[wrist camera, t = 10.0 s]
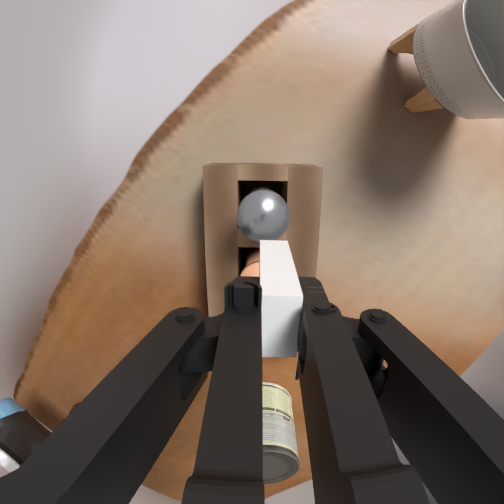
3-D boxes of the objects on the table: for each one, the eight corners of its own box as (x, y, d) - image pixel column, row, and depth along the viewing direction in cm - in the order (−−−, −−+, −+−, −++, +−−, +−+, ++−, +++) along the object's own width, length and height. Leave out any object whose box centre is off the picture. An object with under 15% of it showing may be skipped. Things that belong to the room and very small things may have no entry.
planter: (472, 77, 30) (558, 62, 13) (441, 140, 34) (534, 147, 17) (407, 17, 28) (478, -33, 11) (368, 78, 32) (444, 38, 15)
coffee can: (282, 423, 50) (287, 486, 36) (226, 415, 49) (220, 480, 36) (299, 385, 46) (310, 453, 33) (237, 376, 46) (231, 446, 32)
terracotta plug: (242, 276, 37) (239, 305, 30) (242, 241, 36) (238, 263, 29) (278, 276, 37) (283, 305, 30) (280, 241, 36) (285, 264, 29)
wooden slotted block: (216, 325, 43) (211, 350, 37) (211, 163, 36) (202, 165, 30) (301, 325, 42) (307, 351, 37) (312, 164, 35) (322, 167, 30)
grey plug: (241, 222, 33) (237, 242, 26) (241, 181, 32) (237, 190, 25) (282, 223, 33) (288, 242, 26) (283, 182, 32) (290, 191, 25)
